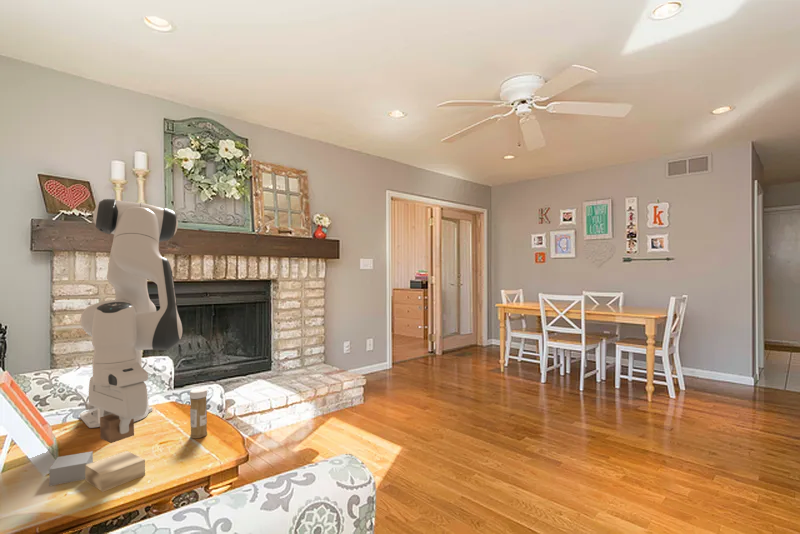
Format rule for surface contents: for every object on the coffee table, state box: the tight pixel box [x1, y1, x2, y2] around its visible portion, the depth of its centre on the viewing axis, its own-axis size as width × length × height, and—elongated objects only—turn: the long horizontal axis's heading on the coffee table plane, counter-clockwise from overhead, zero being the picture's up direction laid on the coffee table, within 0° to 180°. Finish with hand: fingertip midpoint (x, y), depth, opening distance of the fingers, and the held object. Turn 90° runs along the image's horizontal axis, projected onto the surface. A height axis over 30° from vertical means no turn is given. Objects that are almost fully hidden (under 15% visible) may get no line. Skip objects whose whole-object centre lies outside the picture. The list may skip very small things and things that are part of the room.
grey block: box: [48, 450, 94, 487], centre depth 102 cm, size 7×7×4 cm
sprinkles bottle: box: [189, 388, 208, 439], centre depth 125 cm, size 5×5×14 cm
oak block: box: [84, 450, 146, 493], centre depth 101 cm, size 9×9×4 cm
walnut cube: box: [99, 414, 135, 444], centre depth 101 cm, size 5×5×5 cm
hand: (116, 429), depth 101 cm, fingers closed on walnut cube, 5 cm apart
